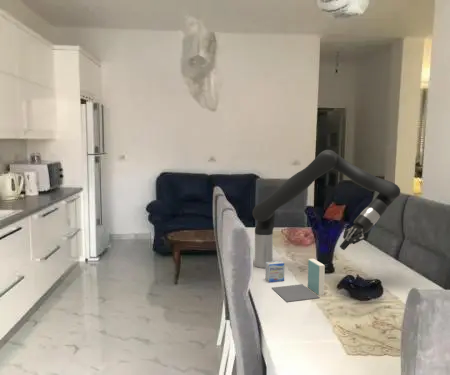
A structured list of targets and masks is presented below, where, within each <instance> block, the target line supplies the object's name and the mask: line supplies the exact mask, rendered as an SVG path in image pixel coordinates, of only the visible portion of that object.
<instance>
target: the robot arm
mask: <svg viewBox="0 0 450 375" xmlns="http://www.w3.org/2000/svg"><path fill="white" fill-rule="evenodd" d="M332 170H333V171H336V172H338V173H339V174H340V173H341V175H342V174H343V175H344V176H345V177H347V178H349V179H350V180H351V181H352V182H354V183H355V184H357V185H358V186H360V187H362V188H364V189H366V190H367V191H370V192H377V193H378V194H377V196H375V198H374V199H373V200H372V201H370V203H369V204H368V205H367V206H366V207H365V208H364V209H363V210H362V211H361V212H360V214H359V215H358V216H357V217H356V218H355V219H354V220H353V225H352V226H350V228H347V227H345V229H344V230H343V231H344V232H343V235H342V236H343V237H342V238H343V241H342V243H341V244H339V248H340V249H341V250H343V251H345V250H346V249H347V248H348V247H349V245H351V244H352V245H355V244H358V243H359V242H361V241H363V240H365V239H366V237H365V236H364V235H365V233H369V231H370V230H371V229H372V228H373V227H374V225H375V224H376V223H378V221H379V219H380V217H382V215H383V214H384V213H385V212H386V210H387V208H388V207H390V205H391V204H392V203H393V202H394V201H395V200H396V199H397V198H398V197H399V196H400V194H401V189H400V188H401V187H400V186H399V185H397V184H396V183H395V182H393V181H389V180H387V179H384V178H380V177H377V176H376V175H374V174H372V173H370V172H368V171H367V170H364V169H362V168H361V167H358V166H356V165H354V164H353V163H351V162H350V161H348V160H346V159H345V158H343V157H342V156H340V155H339V154H338V153H336V152H335V151H334V150H332V149H324V150H323V151H321V152H319V154H318V155H317V156H316V157H315V158H314V159H313V160H312V161H311V162H310V163H309V164H308V165H307V166H306V167H304V168H303V169H302V170H301V169H300V171H298V172H296V173H295V174H293V175H292V176H291V177H289V178H288V179H287V180H285V181H284V183H282V184H281V185H280V186H279V187H278V188H277V189H276V190H275V191H274V192H273V193H272V194H270V196H268V197H267V198H266V199H264V200H262V201H261V202H259V203H258V204H256V205H255V206H254V207H253V209H252V217H253V219H254V220H255V221H257V223H256V225H255V227H254V228H255V229H254V266H255V267H256V268H261V269H265V267H266V264H265V263H266V262H273V254H274V253H273V251H274V250H273V247H274V245H273V244H274V242H273V241H274V240H273V237H274V236H273V235H274V229H275V228H274V227H275V219H276V218H275V215H276V214H275V212H276V211H277V210H278V209H279V208H281V207H282V206H284V205H286V204H288V203H289V202H292V201H293V200H294V199H296V198H297V197H299V196H300V195H302V193H303V192H305V191H306V190H307V189H308V188H309V187H310V186H311V185H312V184H313V183H314V182H315V181H317V179H318V178H320V177H321V176H323V175H325V174H327V173H328V172H330V171H332Z"/></svg>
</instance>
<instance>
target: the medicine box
mask: <svg viewBox="0 0 450 375" xmlns="http://www.w3.org/2000/svg"><path fill="white" fill-rule="evenodd" d="M265 264H266V267H265V268H264V270H265V273H264V274H265V281H267V282H268V283H277V282H284V281H285V262H283V261H282V260H277V261H274V260H273V261H272V262H266V263H265Z"/></svg>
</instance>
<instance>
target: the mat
mask: <svg viewBox="0 0 450 375" xmlns="http://www.w3.org/2000/svg"><path fill="white" fill-rule="evenodd" d="M271 290H272V291H274V292H275V293H276V294H277V295H278V296H279V297H280V298H281V299H283V300H284V302H285V303H291V302H293V303H294V302H300V301H307V300H309V301H310V300H315V299H320V295H318V294H316V293H315V292H314V291H312V290H311V289H310V288H308V286H307V287H306V286H305V285H304V284H302V283H300V284H293V285H285V286H284V285H283V286H274V287H271Z"/></svg>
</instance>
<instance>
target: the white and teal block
mask: <svg viewBox="0 0 450 375" xmlns="http://www.w3.org/2000/svg"><path fill="white" fill-rule="evenodd" d="M307 260H308V261H307V288H308V289H309V290H311V291H312V292H313V293H315V294H316V295H317V296H324V295H325V270H326V269H325V268H326V266H325V264H323V263H322V262H320V261H318V260H317V259H315V258H308V259H307Z"/></svg>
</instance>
